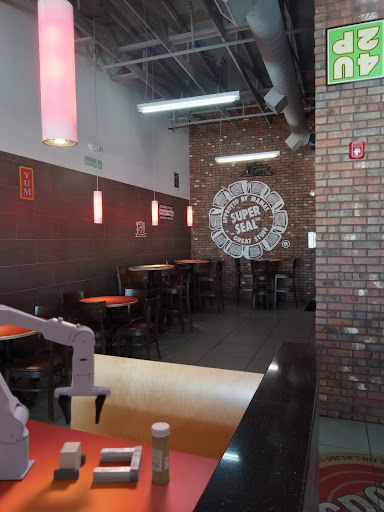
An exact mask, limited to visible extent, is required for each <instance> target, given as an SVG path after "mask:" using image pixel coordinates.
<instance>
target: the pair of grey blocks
mask: <svg viewBox="0 0 384 512" xmlns="http://www.w3.org/2000/svg"><path fill="white" fill-rule="evenodd" d="M86 462H87V453H81V464H86ZM79 478H80V468H79V469H60V468H55V469H54V470H53V480H56V481H57V480H78V479H79Z"/></svg>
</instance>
